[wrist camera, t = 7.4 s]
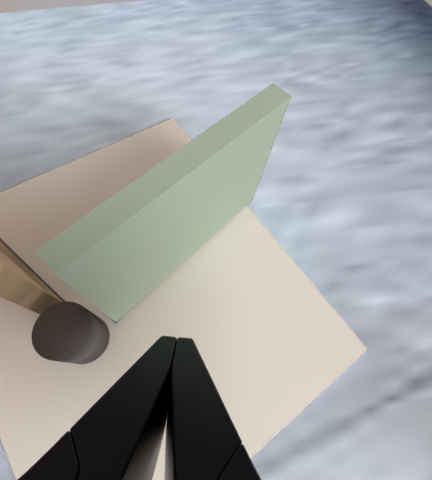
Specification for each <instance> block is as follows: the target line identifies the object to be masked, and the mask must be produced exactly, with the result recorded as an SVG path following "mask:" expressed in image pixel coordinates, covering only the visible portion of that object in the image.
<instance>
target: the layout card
mask: <svg viewBox="0 0 432 480" xmlns="http://www.w3.org/2000/svg"><path fill="white" fill-rule="evenodd" d="M191 140H192V139H191V138H190V137H189V136H188V135H187V133H186V132H185V131H184V130H183V129H182V127H181V126H180V125H179V124H178V123H177V122H176V120H175V119H174V118H171V119H169V120H167V121H164V122H162V123H160V124H157V125H155V126H153V127H150V128H148V129H146V130H143V131H141V132H139V133H136V134H134V135H132V136H129V137H127V138H125V139H123V140H120V141H118V142H116V143H113V144H111V145H109V146H106V147H104V148H102V149H99V150H97V151H95V152H92V153H90V154H88V155H85V156H83V157H81V158H78V159H76V160H74V161H72V162H69V163H67V164H65V165H62V166H60V167H58V168H55V169H53V170H51V171H48V172H46V173H44V174H41V175H39V176H37V177H34V178H32V179H30V180H27V181H25V182H23V183H20V184H18V185H16V186H14V187H11V188H9V189H7V190H4V191H2V192H0V241H1V242H2V243H3V244H4V245H5V246H6V247H7V248H8V249H9V250H10V251H11V252H12V253H13V254H14V255H15V256H16V257H17V258H18V259H19V260H20V261H21V262H22V263H23V264H24V265H25V266H26V267H28V268H29V269H30V270H31V271H32V272H33V273H34V274H35V275H36V276H37V277H38V278H39V279H40V280H41V281H42V282H43V283H44V284H45V285H46V286H47V287H48V288H49V289H50V290H51V291H52V292H53V293H54V294H55V295H56V296H57V297H58V298H59V299H60V300H61V301H62V302H75V303H78V304H80V305H82V306H83V307H85V308H86V309H88V310H89V311H90V312H92V313H93V314H95V315H96V316H98V317H99V318H100V319H102V320H103V321H104V322H105V323H106V325H107V326H108V329H109V333H110V338H109V343H108V346H107V348H106V350H105V351H104V353H103V354H102V355H101V356H100V357H99V358H98V359H96V360H95V361H93V362H90V363H87V364H74V363H66V362H59V361H51V360H47V359H45V358H43V357H41V356H40V355H39V354H38V353H37V352H36V351H35V349H34V347H33V344H32V338H31V336H32V329H33V326H34V324H35V322H36V320H37V318H38V317H39V316H40V314H38V313H36V312H33V311H31V310H29V309H27V308H24V307H22V306H20V305H17V304H15V303H13V302H11V301H8V300H6V299H4V298H1V297H0V439H1V442H2V444H3V447H4V450H5V452H6V455H7V457H8V460H9V463H10V465H11V468H12V471H13V473H14V476H15V478H16V480H17V479H19V478H20V477H21V476H22V475H23V474H24V473H25V472H26V471H28V470H29V469H30V468H31V467H32V466H33V465H34V464H35V463H36V462H37V461H38V460H39V459H40V458H41V457H42V456H43V455H44V454H45V453H46V452H47V451H48V450H49V449H50V448H51V447H52V446H53V445H54V444H55V443H56V442H57V441H58V440H59V439H60V438H61V437H62V436H63V435H64V434H65V433H66V432H67V431H70V428H71V427H72V426H73V425H74V424H75V423H76V422H77V421H78V420H79V419H80V418H81V417H82V416H83V415H84V414H85V413H86V412H87V411H88V410H89V409H90V408H91V407H92V406H93V405H94V404H95V403H96V402H97V401H98V400H99V399H100V398H101V397H102V396H103V395H104V394H105V393H106V392H107V391H108V390H109V389H110V388H111V387H112V386H113V385H114V384H115V383H116V381H117V380H118V379H119V378H120V377H121V376H122V375H123V374H124V373H125V372H126V371H127V370H128V369H129V368H130V367H131V366H132V365H133V364H134V363H135V362H136V361H137V360H138V359H139V358H140V357H141V356H142V355H143V354H144V353H145V352H146V351H147V350H148V349H149V348H150V347H151V346H152V345H153V344H154V343H155V342H156V341H157V340H158V339H159V338H160V337H161V336H173V337H176V338H177V339H178V338H179V337H184V338H192V339H193V340H194V342H195V344H196V346H197V349H198V351H199V353H200V355H201V357H202V359H203V361H204V363H205V365H206V367H207V369H208V371H209V374H210V376H211V378H212V380H213V382H214V384H215V386H216V388H217V390H218V392H219V394H220V397H221V399H222V401H223V403H224V405H225V407H226V409H227V411H228V413H229V415H230V417H231V420H232V422H233V424H234V426H235V428H236V430H237V432H238V434H239V436H240V438H241V440H242V444H243V445H244V446H245V448H246V450H247V453H248V455H249V457H250V459H251V458H252V457H253V456H254V455H255V454H256V453H257V452H258V451H259V450H261V449H262V448H263V447H264V446H265V445H266V444H267V443H268V442H269V441H270V440H271V439H272V438H273V437H274V436H275V435H277V434H278V433H279V432H280V431H281V430H282V429H283V428H284V427H285V426H286V425H287V424H288V423H289V422H290V421H291V420H293V419H294V418H295V417H296V416H297V415H298V414H299V413H300V412H301V411H302V410H303V409H304V408H305V407H306V406H307V405H309V404H310V403H311V402H312V401H313V400H314V399H315V398H316V397H317V396H318V395H319V394H320V393H321V392H322V391H323V390H325V389H326V388H327V387H328V386H329V385H330V384H331V383H332V382H333V381H334V380H335V379H336V378H337V377H338V376H339V375H341V374H342V373H343V372H344V371H345V370H346V369H347V368H348V367H349V366H350V365H351V364H352V363H353V362H354V361H355V360H357V359H358V358H359V357H360V356H361V355H362V354H363V353H364V352H365V351H366V350H367V348H366V347H365V346H364V344H363V343H362V342H361V341H360V340H359V338H358V337H357V336H356V335H355V334H354V332H353V331H352V330H351V329H350V328H349V326H348V325H347V324H346V323H345V322H344V321H343V319H342V318H341V317H340V316H339V315H338V313H337V312H336V311H335V310H334V309H333V307H332V306H331V305H330V304H329V303H328V301H327V300H326V299H325V298H324V297H323V296H322V294H321V293H320V292H319V291H318V290H317V288H316V287H315V286H314V285H313V284H312V282H311V281H310V280H309V279H308V278H307V276H306V275H305V274H304V273H303V272H302V270H301V269H300V268H299V267H298V266H297V265H296V263H295V262H294V261H293V260H292V259H291V257H290V256H289V255H288V254H287V253H286V251H285V250H284V249H283V248H282V247H281V245H280V244H279V243H278V242H277V241H276V240H275V238H274V237H273V236H272V235H271V234H270V232H269V231H268V230H267V229H266V228H265V226H264V225H263V224H262V223H261V222H260V220H259V219H258V218H257V217H256V216H255V214H254V213H253V212H252V211H251V210H250V209H249V207H248V206H246V207H245V208H243V209H242V210H241V211H240V212H239V213H238V214H237V215H236V216H235V217H233V218H232V219H231V220H230V221H229V222H228V223H227V224H226V225H224V226H223V227H222V228H221V229H220V230H219V231H218V232H217V233H215V234H214V235H213V236H212V237H211V238H210V239H209V240H208V241H207V242H205V243H204V244H203V245H202V246H201V247H200V248H199V249H198V250H196V251H195V252H194V253H193V254H192V255H191V256H190V257H189V258H188V259H186V260H185V261H184V262H183V263H182V264H181V265H180V266H179V267H177V268H176V269H175V270H174V271H173V272H172V273H171V274H170V275H168V276H167V277H166V278H165V279H164V280H163V281H162V282H161V283H160V284H158V285H157V286H156V287H155V288H154V289H153V290H152V291H151V292H149V293H148V294H147V295H146V296H145V297H144V298H143V299H142V300H140V301H139V302H138V303H137V304H136V305H135V306H134V307H133V308H132V309H130V310H129V311H128V312H127V313H126V314H125V315H124V316H123V317H121V318H120V319H119V320H118V321H117V322H114V321H113V320H112V319H111V318H109V317H108V316H107V315H105V314H104V313H103V312H102V311H100V310H99V309H98V308H97V307H95V306H94V305H93V304H92V303H90V302H89V301H88V300H86V299H85V298H84V297H83V296H81V295H80V294H79V293H78V292H76V291H75V290H74V289H73V288H71V287H70V286H69V285H67V284H66V283H65V282H64V281H62V280H61V279H60V278H59V277H57V276H56V275H55V274H54V273H53V272H52V271H51V270H50V268H49V267H48V266H47V265H46V264H45V263H44V261H43V260H42V259H41V258H40V257H39V256H38V254H37V253H36V252H35V250H36V249H38V248H39V247H40V246H42V245H43V244H45V243H46V242H48V241H49V240H50V239H52V238H53V237H55V236H56V235H58V234H59V233H60V232H62V231H63V230H65V229H66V228H67V227H69V226H70V225H72V224H73V223H75V222H76V221H77V220H79V219H80V218H82V217H83V216H85V215H86V214H87V213H89V212H90V211H92V210H93V209H95V208H96V207H97V206H99V205H100V204H102V203H103V202H105V201H106V200H107V199H109V198H110V197H112V196H113V195H115V194H116V193H117V192H119V191H120V190H122V189H123V188H125V187H126V186H127V185H129V184H130V183H132V182H133V181H134V180H136V179H137V178H139V177H140V176H142V175H143V174H144V173H146V172H147V171H149V170H150V169H152V168H153V167H154V166H156V165H157V164H159V163H160V162H162V161H163V160H164V159H166V158H167V157H169V156H170V155H172V154H173V153H174V152H176V151H177V150H179V149H180V148H182V147H183V146H184V145H186V144H187V143H189V142H190V141H191ZM166 424H167V421H166ZM165 439H166V427H165V432H164V436H163V440H162V444H161V448H160V452H159V455H158V459H157V463H156V467H155V471H154V475H153V478H152V480H164V474H165Z"/></svg>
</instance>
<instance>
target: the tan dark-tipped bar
mask: <svg viewBox="0 0 432 480" xmlns="http://www.w3.org/2000/svg"><path fill="white" fill-rule="evenodd" d="M0 297H1V298H4V299H6V300H8V301H11V302H13V303H15V304H17V305H20V306H22V307H24V308H27V309H29V310H31V311H33V312H36V313H38V314H40V316H39V317H38V318H37V320H36V322H35V324H34V326H33V329H32V336H31V338H32V344H33V347H34V349H35V351H36V352H37V353H38V354H39V355H40V356H41V357H43V358H45V359H47V360H51V361H59V362H66V363H74V364H87V363H90V362H93V361H95V360H96V359H98V358H99V357H100V356H101V355H102V354H103V353H104V351H105V350H106V348H107V346H108V343H109V338H110V333H109V329H108V326H107V325H106V323H105V322H104V321H103V320H102V319H100V318H99V317H98V316H96V315H95V314H93V313H92V312H90V311H89V310H88V309H86V308H85V307H83V306H82V305H80V304H78V303H75V302H62V301H61V300H60V299H59V298H58V297H57V296H56V295H55V294H54V293H53V292H52V291H51V290H50V289H49V288H48V287H47V286H46V285H45V284H44V283H43V282H42V281H41V280H40V279H39V278H38V277H37V276H36V275H35V274H34V273H33V272H32V271H31V270H30V269H29V268H28V267H26V266H25V265H24V264H23V263H22V262H21V261H20V260H19V259H18V258H17V257H16V256H15V255H14V254H13V253H12V252H11V251H10V250H9V249H8V248H7V247H6V246H5V245H4V244H3V243H2V242H1V241H0Z"/></svg>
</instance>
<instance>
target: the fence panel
mask: <svg viewBox="0 0 432 480" xmlns="http://www.w3.org/2000/svg"><path fill="white" fill-rule="evenodd" d="M290 98H291V96H290V95H288V94H287V93H286V92H284V91H283V90H281V89H280V88H279V87H277V86H276V85H274V84H271V85H270V86H268V87H267V88H266V89H264V90H263V91H261V92H260V93H258V94H257V95H256V96H254V97H253V98H251V99H250V100H249V101H247V102H246V103H244V104H243V105H241V106H240V107H239V108H237V109H236V110H234V111H233V112H231V113H230V114H229V115H227V116H226V117H224V118H223V119H221V120H220V121H219V122H217V123H216V124H214V125H213V126H211V127H210V128H209V129H207V130H206V131H204V132H203V133H201V134H200V135H199V136H197V137H196V138H194V139H193V140H191V141H190V142H189V143H187V144H186V145H184V146H183V147H182V148H180V149H179V150H177V151H176V152H174V153H173V154H172V155H170V156H169V157H167V158H166V159H164V160H163V161H162V162H160V163H159V164H157V165H156V166H154V167H153V168H152V169H150V170H149V171H147V172H146V173H144V174H143V175H142V176H140V177H139V178H137V179H136V180H134V181H133V182H132V183H130V184H129V185H127V186H126V187H125V188H123V189H122V190H120V191H119V192H117V193H116V194H115V195H113V196H112V197H110V198H109V199H107V200H106V201H105V202H103V203H102V204H100V205H99V206H97V207H96V208H95V209H93V210H92V211H90V212H89V213H87V214H86V215H85V216H83V217H82V218H80V219H79V220H77V221H76V222H75V223H73V224H72V225H70V226H69V227H67V228H66V229H65V230H63V231H62V232H60V233H59V234H58V235H56V236H55V237H53V238H52V239H50V240H49V241H48V242H46V243H45V244H43V245H42V246H40V247H39V248H38V249H36V250H35V252H36V253H37V254H38V256H39V257H40V258H41V259H42V260H43V261H44V263H45V264H46V265H47V266H48V267H49V268H50V270H51V271H52V272H53V273H54V274H55V275H56V276H57V277H59V278H60V279H61V280H62V281H64V282H65V283H66V284H67V285H69V286H70V287H71V288H73V289H74V290H75V291H76V292H78V293H79V294H80V295H81V296H83V297H84V298H85V299H86V300H88V301H89V302H90V303H92V304H93V305H94V306H95V307H97V308H98V309H99V310H100V311H102V312H103V313H104V314H105V315H107V316H108V317H109V318H111V319H112V320H113V321H114V322H117V321H118V320H119V319H120V318H121V317H123V316H124V315H125V314H126V313H127V312H128V311H129V310H130V309H132V308H133V307H134V306H135V305H136V304H137V303H138V302H139V301H140V300H142V299H143V298H144V297H145V296H146V295H147V294H148V293H149V292H151V291H152V290H153V289H154V288H155V287H156V286H157V285H158V284H160V283H161V282H162V281H163V280H164V279H165V278H166V277H167V276H168V275H170V274H171V273H172V272H173V271H174V270H175V269H176V268H177V267H179V266H180V265H181V264H182V263H183V262H184V261H185V260H186V259H188V258H189V257H190V256H191V255H192V254H193V253H194V252H195V251H196V250H198V249H199V248H200V247H201V246H202V245H203V244H204V243H205V242H207V241H208V240H209V239H210V238H211V237H212V236H213V235H214V234H215V233H217V232H218V231H219V230H220V229H221V228H222V227H223V226H224V225H226V224H227V223H228V222H229V221H230V220H231V219H232V218H233V217H235V216H236V215H237V214H238V213H239V212H240V211H241V210H242V209H243V208H245V207H246V206H247V205H248V204H249V203H250V202H251V201H252V200H253V197H254V195H255V192H256V189H257V187H258V184H259V181H260V179H261V176H262V173H263V171H264V168H265V165H266V163H267V160H268V157H269V155H270V152H271V149H272V147H273V144H274V141H275V139H276V136H277V133H278V131H279V128H280V125H281V123H282V120H283V117H284V114H285V112H286V109H287V106H288V104H289V101H290Z"/></svg>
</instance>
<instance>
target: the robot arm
mask: <svg viewBox="0 0 432 480" xmlns="http://www.w3.org/2000/svg"><path fill="white" fill-rule="evenodd" d="M166 421H167V424H166ZM165 427H166V439H165V474H164V480H261V478H260V476H259V475H258V473H257V471H256V469H255V467H254V465H253V463H252V461H251V459H250V457H249V455H248V453H247V450H246V448H245V446H244V445H243V444H242V440H241V438H240V436H239V434H238V432H237V430H236V428H235V426H234V424H233V422H232V420H231V417H230V415H229V413H228V411H227V409H226V407H225V405H224V403H223V401H222V399H221V397H220V394H219V392H218V390H217V388H216V386H215V384H214V382H213V380H212V378H211V376H210V374H209V371H208V369H207V367H206V365H205V363H204V361H203V359H202V357H201V355H200V353H199V351H198V349H197V346H196V344H195V342H194V340H193V339H192V338H184V337H179V338H178V339H177V338H176V337H173V336H161V337H160V338H159V339H158V340H157V341H156V342H155V343H154V344H153V345H152V346H151V347H150V348H149V349H148V350H147V351H146V352H145V353H144V354H143V355H142V356H141V357H140V358H139V359H138V360H137V361H136V362H135V363H134V364H133V365H132V366H131V367H130V368H129V369H128V370H127V371H126V372H125V373H124V374H123V375H122V376H121V377H120V378H119V379H118V380H117V381H116V383H115V384H114V385H113V386H112V387H111V388H110V389H109V390H108V391H107V392H106V393H105V394H104V395H103V396H102V397H101V398H100V399H99V400H98V401H97V402H96V403H95V404H94V405H93V406H92V407H91V408H90V409H89V410H88V411H87V412H86V413H85V414H84V415H83V416H82V417H81V418H80V419H79V420H78V421H77V422H76V423H75V424H74V425H73V426H72V427H71V428H70V431H67V432H66V433H65V434H64V435H63V436H62V437H61V438H60V439H59V440H58V441H57V442H56V443H55V444H54V445H53V446H52V447H51V448H50V449H49V450H48V451H47V452H46V453H45V454H44V455H43V456H42V457H41V458H40V459H39V460H38V461H37V462H36V463H35V464H34V465H33V466H32V467H31V468H30V469H29V470H28V471H26V472H25V473H24V474H23V475H22V476H21V477H20V478H19V479H17V480H152V478H153V475H154V471H155V467H156V463H157V459H158V455H159V452H160V448H161V444H162V440H163V436H164V432H165Z"/></svg>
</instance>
